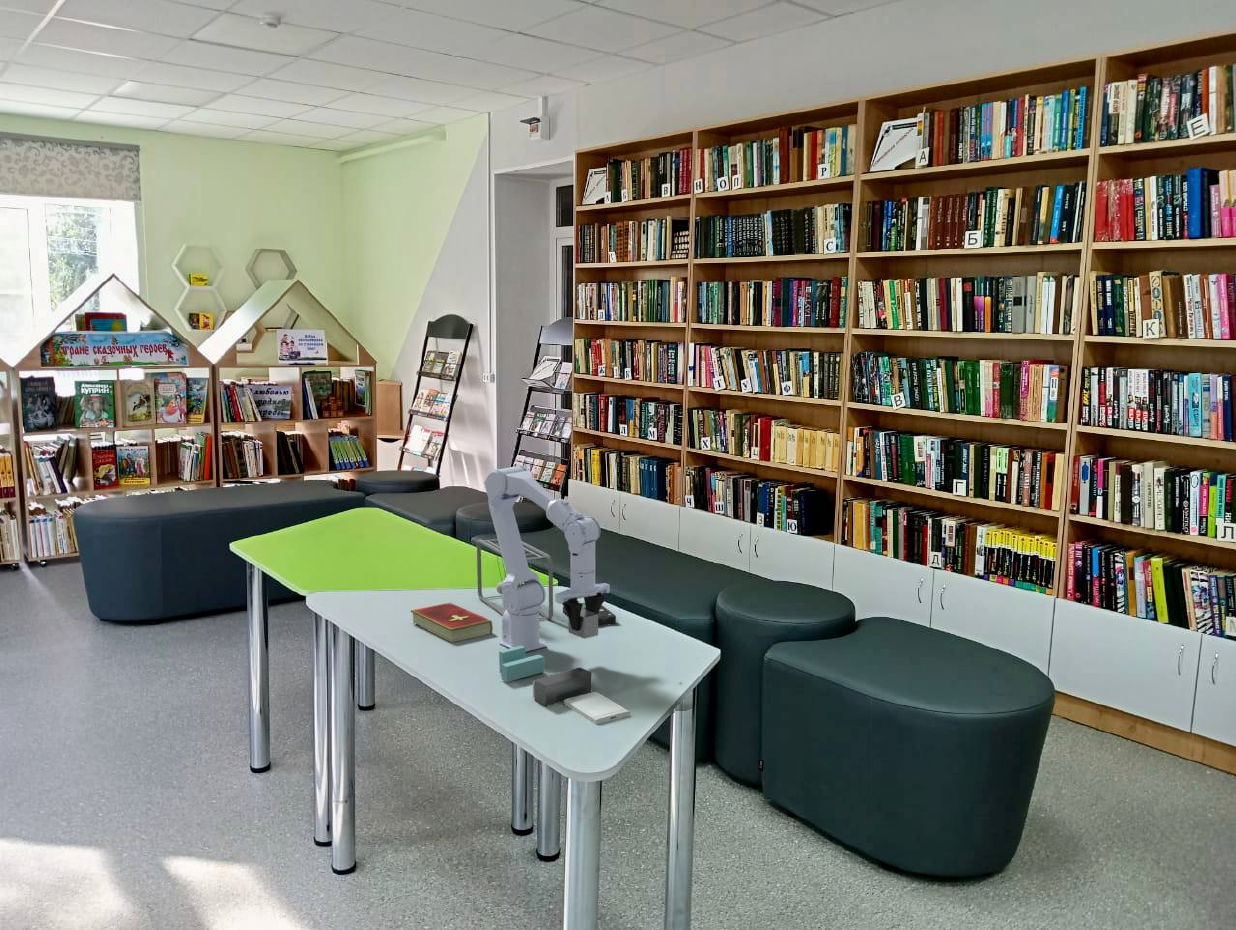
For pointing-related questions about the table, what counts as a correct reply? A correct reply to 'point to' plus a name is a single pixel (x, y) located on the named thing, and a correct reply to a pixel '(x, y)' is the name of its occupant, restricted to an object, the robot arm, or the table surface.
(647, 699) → the table surface
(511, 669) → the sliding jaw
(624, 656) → the table surface
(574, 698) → the hard drive
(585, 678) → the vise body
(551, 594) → the newton's cradle
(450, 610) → the hardcover book
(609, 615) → the disk drive
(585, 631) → the steel block
